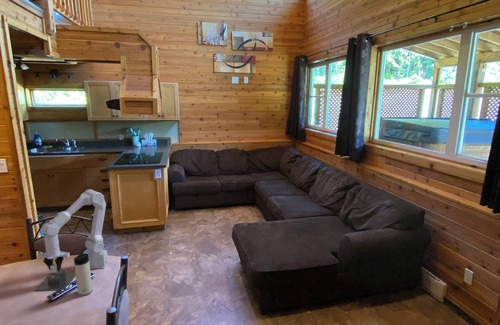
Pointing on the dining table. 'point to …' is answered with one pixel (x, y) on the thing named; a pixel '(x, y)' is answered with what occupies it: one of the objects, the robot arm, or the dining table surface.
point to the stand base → (56, 281)
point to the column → (54, 269)
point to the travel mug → (83, 274)
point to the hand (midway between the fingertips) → (55, 270)
